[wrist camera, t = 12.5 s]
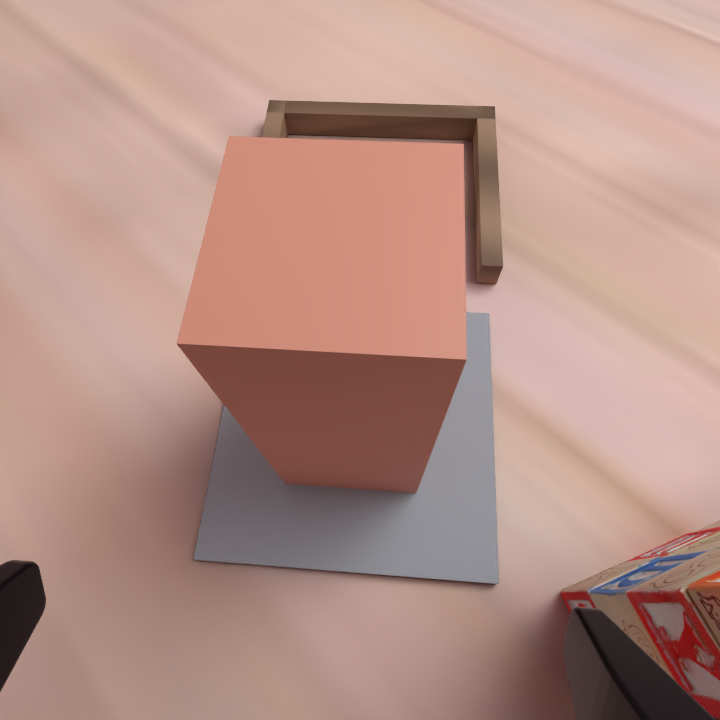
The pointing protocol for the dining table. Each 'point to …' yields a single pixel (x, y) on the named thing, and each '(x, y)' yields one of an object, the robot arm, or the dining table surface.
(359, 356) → the salmon-pink block
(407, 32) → the dining table surface
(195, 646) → the dining table surface
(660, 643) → the stack of blocks
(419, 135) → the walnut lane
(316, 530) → the slate-grey mat
